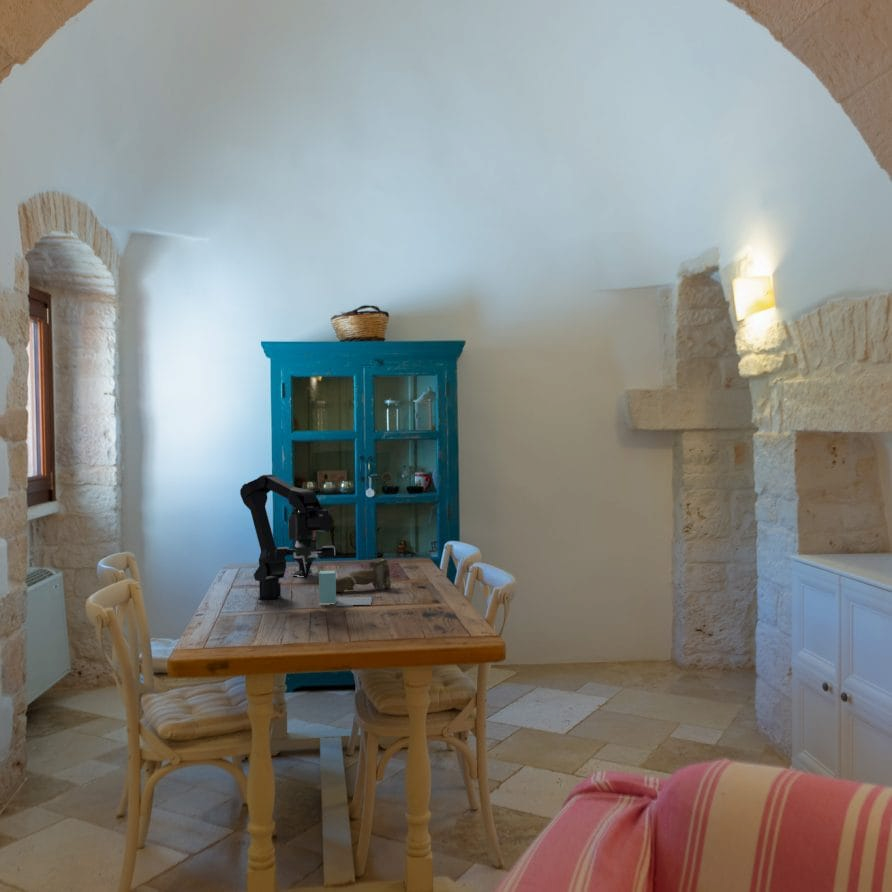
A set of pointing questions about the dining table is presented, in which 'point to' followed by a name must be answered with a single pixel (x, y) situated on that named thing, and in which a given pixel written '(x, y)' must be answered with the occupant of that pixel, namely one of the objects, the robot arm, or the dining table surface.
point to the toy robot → (293, 537)
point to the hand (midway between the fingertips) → (306, 578)
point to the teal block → (327, 587)
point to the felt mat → (354, 601)
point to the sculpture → (367, 577)
